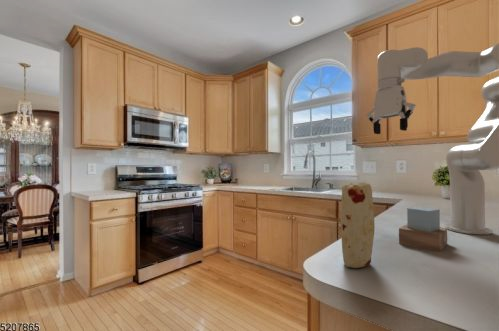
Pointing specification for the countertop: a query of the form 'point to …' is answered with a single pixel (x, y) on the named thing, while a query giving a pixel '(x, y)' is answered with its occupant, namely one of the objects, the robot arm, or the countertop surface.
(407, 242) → the walnut block
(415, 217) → the slate cube
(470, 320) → the countertop surface
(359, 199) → the food model
